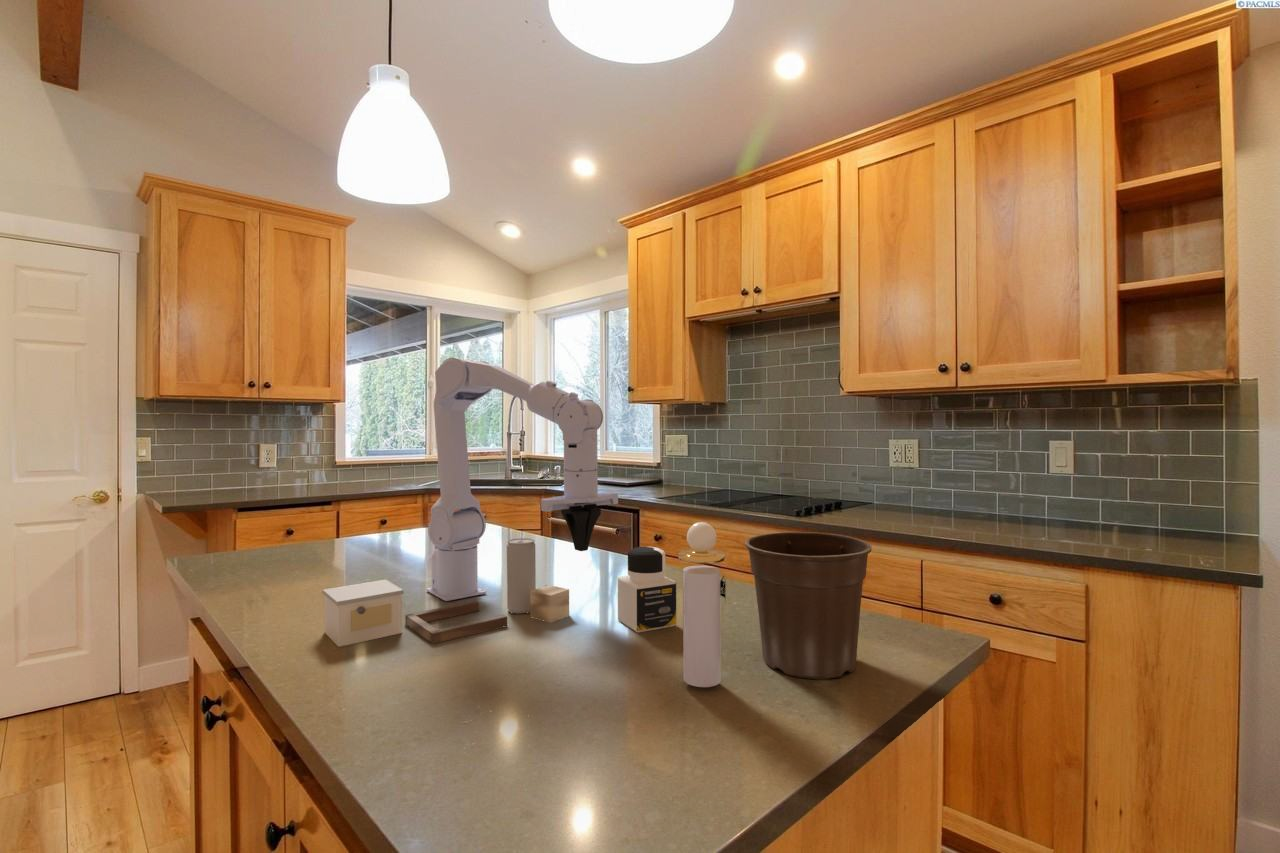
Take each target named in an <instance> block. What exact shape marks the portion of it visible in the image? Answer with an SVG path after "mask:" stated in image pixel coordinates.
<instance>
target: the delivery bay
mask: <svg viewBox="0 0 1280 853" xmlns="http://www.w3.org/2000/svg"><path fill="white" fill-rule="evenodd" d="M479 606H480V603H479V601H477V600H471V601H467V602H464V603H457V604H454V605H453V604H452V605H448V606H443V607H438V608H433V609H428V610H424V611H418V612H414V613H409V614H408V613H407V614H405V615H404V616H405V617H404V618H405V620H404V621H405V622H404V623H405V625H406V626H407V627H408V626H409V627H408V628H410V629H411V630H412V631H414V632H415V631H416V633H417V634H419V636H421V637H422V636H423V637H422V638H424V639H425V640H427V642H429V641H430V642H429V643H431V644H432V643H433V645H434V643H435V644H438V642H439V643H442V641H443V642H446V640H447V641H451V640H455V639H459V637H460V638H463V637H468V636H472V635H476V634H479V633H480V632H481V633H484V631H485V632H488V631H493V630H497V629H500V627H501V628H504V627H503V626H506V627H508V616H506V615H505V614H501V615H497V616H493V617H488V618H484V619H483V618H482V619H479V620H475V621H471V622H466V623H461V624H457V625H452V626H448V627H444V628H439V629H437V628H436V627H434V626H432V625H431V624H430V622H434V621H438V619H439V620H443V618H444V619H448V618H447V617H449V618H453V617H457V616H462V614H463V615H466V614H471V613H476V611H477V612H479V611H480V608H479ZM429 621H430V622H429ZM496 628H497V629H496ZM492 629H493V630H492ZM454 638H455V639H454Z"/></svg>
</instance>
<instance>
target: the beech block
mask: <svg viewBox="0 0 1280 853" xmlns="http://www.w3.org/2000/svg"><path fill="white" fill-rule="evenodd" d="M530 597H531V612H530V618H531V617H533V618H537V619H540V620H539V621H541V620H544V621H543V622H545V621H548V622H547V623H549V622H552V623H554V622H556V621H555V620H557V621H559V620H562V619H564V618H563V617H565V618H566V616H567V617H569V616H570V589H569V588H565V587H559V586H556V585H555V586H554V585H546V586H542V587H538V588H537V589H536V590H533V591H530ZM568 615H569V616H568ZM533 618H532V619H533ZM561 618H562V619H561ZM537 619H536V620H537ZM558 619H559V620H558ZM553 621H554V622H553Z"/></svg>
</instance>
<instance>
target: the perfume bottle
mask: <svg viewBox="0 0 1280 853" xmlns="http://www.w3.org/2000/svg"><path fill="white" fill-rule="evenodd" d="M716 532H717V531H716V529H715V528H714V527H713V526H712V525H711V524H709V523H708V522H704V521H698V522H695V523H693V524H692V525H691V526H690V527H689V529H688V530H687V534H686V541H687V544H688V546H689V547H690V548H689V549H684V550H679V551H678V553H677V559H678V560H679V561H682V562H685V563H689V564H691V563H692V564H716V563H722V562H725V560H726V552H724V551H722V550H718V549H713V548H714V547H715V545H716V543H717V533H716ZM682 570H683V571H682V584H683V585H682V586H683V587H682V593H683V594H682V598H683V599H682V600H683V601H682V604H683V605H682V608H683V609H682V615H683V617H682V620H683V621H682V625H683V627H682V630H683V631H682V632H683V633H682V634H683V637H682V638H683V640H682V642H683V645H682V646H683V647H682V648H683V654H682V656H683V660H682V661H683V666H682V668H683V672H682V673H683V682H685V684H688V685H690V686H692V687H698V688H711V687H714V686H718V685H719V684H720V683H721V682H722V677H721V676H722V673H721V671H722V669H721V667H722V665H721V660H722V659H721V657H722V656H721V655H722V654H721V653H722V652H721V650H722V649H721V645H722V644H721V641H722V640H721V636H722V635H721V632H722V631H721V629H722V628H721V625H722V623H721V618H722V617H721V615H722V614H721V612H722V611H721V606H722V605H721V597H723V598H724V602H725V604H724V605H725V607H726V597H727V596H726V585H727V584H726V581H725V580H726V577H725V574H724V575H723V576H722V578H721V569H720V568H719V567H715V566H712V565H711V566H710V565H691V566H686V567H684V568H683V569H682Z"/></svg>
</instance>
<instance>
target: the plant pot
mask: <svg viewBox="0 0 1280 853" xmlns="http://www.w3.org/2000/svg"><path fill="white" fill-rule="evenodd" d="M744 545H745V548H746V549H747V550H748V554H749V555H748V556H749V560H750V571H751V573H752V574H753V576H754V585H755V586H754V587H755V593H756V594H755V595H756V602H757V611H758V612H757V613H758V621H759V622H758V623H759V630H760V631H759V632H760V641H761V652H762V659H763V662H764V663H765V664H766V665H767V666H768V667H769V668H771V669H772V670H775V669H780V670H781V671H782V672H783V673H784V674H785V675H788V676H792V677H798V678H802V679H810V680H824V679H825V680H826V679H834V678H841V677H842V676H843V675H844V674H845V673H846V672H847V673H852V672H853V671H854V670H855V669H856V667H857V658H858V644H859V643H858V641H859V632H860V631H859V629H860V618H861V617H860V616H861V607H862V606H861V605H862V595H863V584H864V583H863V582H864V580H865V579H866V577H867V565H868V558H869V554H870V553H871V552H872V549H873V547H872V545H871V543H868V542H867V541H865V540H863V539H860V538H857V537H853V536H849V535H844V534H837V533H836V534H835V533H829V532H813V531H812V532H811V531H808V532H807V531H805V532H803V531H787V532H785V531H783V532H782V531H781V532H771V533H770V532H769V533H765V534H764V533H763V534H758V535H755V536H751V537H749V538H747V539H745V542H744Z"/></svg>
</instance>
